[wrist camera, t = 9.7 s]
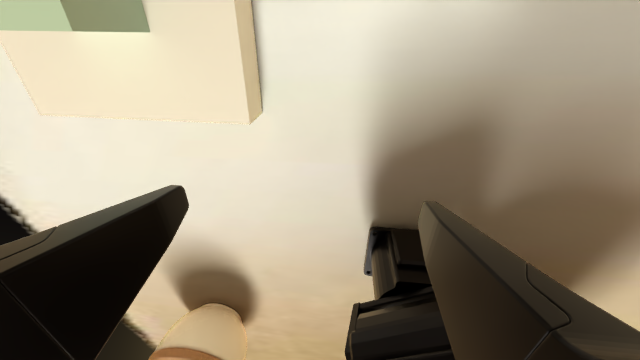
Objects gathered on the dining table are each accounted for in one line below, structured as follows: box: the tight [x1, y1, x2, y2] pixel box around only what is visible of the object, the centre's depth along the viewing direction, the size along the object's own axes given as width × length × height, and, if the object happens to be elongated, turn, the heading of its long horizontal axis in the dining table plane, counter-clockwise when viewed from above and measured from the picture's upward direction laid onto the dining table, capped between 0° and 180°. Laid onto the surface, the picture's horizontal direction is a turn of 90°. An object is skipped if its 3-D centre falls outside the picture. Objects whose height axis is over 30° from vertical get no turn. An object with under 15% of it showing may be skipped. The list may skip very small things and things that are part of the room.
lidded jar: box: [148, 303, 247, 360], centre depth 31 cm, size 11×11×9 cm
